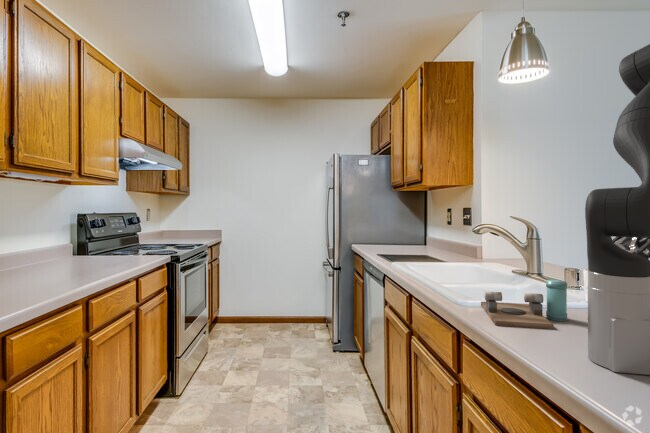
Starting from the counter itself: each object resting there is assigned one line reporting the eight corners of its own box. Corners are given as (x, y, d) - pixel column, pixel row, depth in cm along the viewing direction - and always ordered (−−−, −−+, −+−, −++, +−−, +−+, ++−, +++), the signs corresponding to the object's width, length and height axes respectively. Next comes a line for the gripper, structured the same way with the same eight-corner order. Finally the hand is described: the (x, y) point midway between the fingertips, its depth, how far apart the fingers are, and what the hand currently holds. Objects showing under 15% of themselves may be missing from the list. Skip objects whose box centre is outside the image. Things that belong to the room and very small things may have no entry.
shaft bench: (555, 329, 83) (555, 303, 83) (493, 325, 87) (492, 300, 86) (530, 308, 101) (530, 286, 100) (479, 305, 104) (479, 284, 104)
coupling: (570, 321, 88) (570, 283, 88) (550, 320, 89) (550, 282, 89) (562, 316, 93) (562, 279, 92) (543, 315, 94) (543, 279, 94)
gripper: (632, 209, 92) (583, 251, 95) (671, 210, 78) (612, 258, 81) (655, 229, 91) (605, 270, 94) (699, 233, 77) (639, 281, 80)
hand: (609, 265), depth 88 cm, fingers open, 8 cm apart
